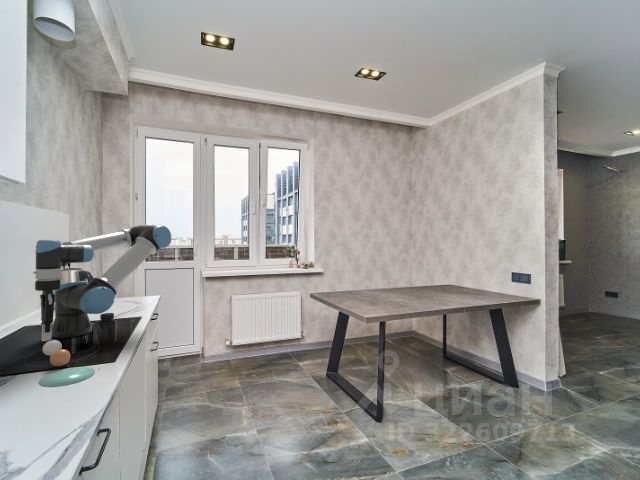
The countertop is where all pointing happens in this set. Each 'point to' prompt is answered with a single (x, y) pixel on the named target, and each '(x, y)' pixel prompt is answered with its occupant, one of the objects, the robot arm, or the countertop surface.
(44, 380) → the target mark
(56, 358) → the object ball
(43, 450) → the countertop surface
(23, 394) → the countertop surface
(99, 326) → the supplement bottle
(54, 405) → the countertop surface
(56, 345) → the cue ball
